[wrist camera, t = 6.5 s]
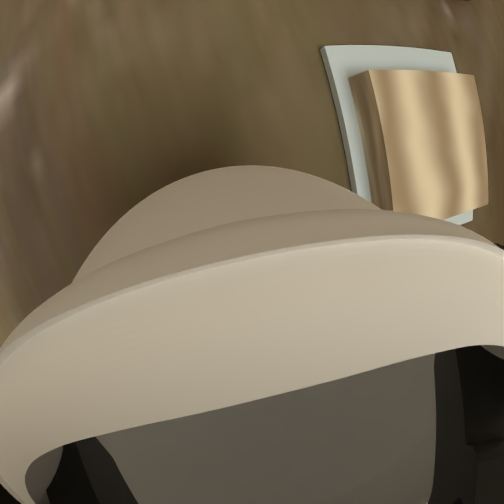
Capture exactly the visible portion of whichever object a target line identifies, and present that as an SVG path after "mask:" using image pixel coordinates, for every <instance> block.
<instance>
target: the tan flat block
mask: <svg viewBox="0 0 504 504" xmlns="http://www.w3.org/2000/svg"><path fill="white" fill-rule="evenodd" d="M348 81H349V85H350V89H351V93H352V97H353V101H354V105H355V110H356V114H357V119H358V123H359V128H360V133H361V138H362V144H363V149H364V155H365V160H366V167H367V173H368V180H369V187H370V194H371V202H372V204H374V205H376V206H377V207H379V208H380V209H382V210H388V211H397V212H405V213H411V214H417V215H422V216H428V217H432V218H437V219H441V220H444V219H447V218H450V217H453V216H456V215H459V214H462V213H464V212H467V211H470V210H473V209H476V208H478V207H481V206H484V205H487V204H488V174H487V157H486V146H485V137H484V128H483V121H482V115H481V109H480V103H479V98H478V93H477V88H476V83H475V79H474V75H466V74H458V73H449V72H438V71H423V70H367V71H364V72H362V73H359V74H356V75H354V76H351V77H349V78H348Z"/></svg>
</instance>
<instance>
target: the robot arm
mask: <svg viewBox="0 0 504 504" xmlns="http://www.w3.org/2000/svg"><path fill="white" fill-rule="evenodd" d="M493 244H495V243H493ZM495 245H496V246H498V247H499V248H501V249H503V250H504V246H502V245H500V244H495ZM434 378H435V396H436V448H435V465H434V477H433V487H432V492H431V496H430V499H429V501H428V504H504V360H503V359H501V358H499V357H497V356H495V355H494V354H492V353H490V352H489V351H487V350H486V349H485V348H483V347H482V346H481V345H474V346H466V347H461V348H456V349H451V350H447V351H442V352H438V353H435V359H434ZM46 491H47V495H48V499H49V502H50V504H138V502H137V500H136V499H135V497H134V496H133V494H132V492H131V490H130V489H129V487H128V485H127V483H126V482H125V480H124V478H123V476H122V474H121V473H120V471H119V469H118V467H117V465H116V463H115V461H114V459H113V457H112V456H111V455H110V454H109V452H108V451H107V450H106V449H105V448H104V446H103V445H102V444H101V443H100V442H99V440H98V439H97V438H96V437H91V438H87V439H83V440H79V441H75V442H72V443H69V444H66V445H63V451H62V456H61V459H60V463H59V465H58V468H57V471H56V473H55V475H54V477H53V479H52V481H51V483H50V484H49V486H48V488H47V489H46ZM0 504H21V503H20V502H19V501H18V500H17V499H15V498H14V497H13V496H12V495H11V494H10V493H9V492H8V491H7V490H6V489H5V488H4V487H3V486H2V485H1V484H0Z"/></svg>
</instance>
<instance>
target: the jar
mask: <svg viewBox="0 0 504 504" xmlns="http://www.w3.org/2000/svg"><path fill="white" fill-rule="evenodd" d="M474 345H481V346H482V347H483V348H485V349H486V350H487V351H489V352H490V353H492V354H494V355H495V356H497V357H499V358H501V359H503V360H504V250H503V249H501V248H499V247H498V246H496V245H495V244H493V243H492V242H490V241H489V240H487V239H486V238H484V237H482V236H481V235H479V234H477V233H475V232H473V231H471V230H469V229H467V228H464V227H462V226H460V225H457V224H454V223H451V222H448V221H444V220H441V219H437V218H432V217H428V216H422V215H417V214H411V213H405V212H397V211H388V210H382V209H380V208H379V207H377V206H376V205H374V204H372V203H371V202H369V201H368V200H366V199H364V198H363V197H361V196H359V195H357V194H355V193H354V192H352V191H350V190H348V189H346V188H344V187H342V186H339V185H337V184H335V183H333V182H330V181H328V180H325V179H322V178H320V177H317V176H314V175H310V174H307V173H303V172H300V171H295V170H291V169H286V168H279V167H272V166H258V165H244V166H230V167H223V168H217V169H212V170H207V171H204V172H200V173H197V174H193V175H190V176H188V177H185V178H182V179H180V180H178V181H175V182H173V183H171V184H169V185H167V186H165V187H163V188H161V189H159V190H158V191H156V192H154V193H153V194H151V195H149V196H148V197H146V198H145V199H144V200H142V201H141V202H139V203H138V204H137V205H135V206H134V207H133V208H132V209H130V210H129V211H128V212H127V213H126V214H125V215H123V216H122V217H121V218H120V219H119V220H118V221H117V222H116V223H115V224H114V225H113V226H112V227H111V228H110V229H109V230H108V232H107V233H106V234H105V235H104V236H103V237H102V238H101V240H100V241H99V242H98V243H97V245H96V246H95V247H94V249H93V250H92V251H91V253H90V254H89V256H88V257H87V259H86V260H85V262H84V263H83V265H82V266H81V268H80V269H79V271H78V273H77V275H76V276H75V278H74V280H73V282H72V284H70V285H68V286H67V287H65V288H64V289H62V290H61V291H59V292H58V293H56V294H55V295H53V296H52V297H51V298H49V299H48V300H46V301H45V302H44V303H43V304H41V305H40V306H39V307H37V308H36V309H35V310H34V311H33V312H31V313H30V314H29V315H28V316H27V317H26V318H25V319H24V320H23V321H22V322H21V323H20V324H19V325H18V326H17V327H16V328H15V329H14V330H13V331H12V333H11V334H10V335H9V336H8V338H7V339H6V340H5V342H4V343H3V345H2V346H1V348H0V484H1V485H2V486H3V487H4V488H5V489H6V490H7V491H8V492H9V493H10V494H11V495H12V496H13V497H14V498H15V499H17V500H18V501H19V502H20V503H21V504H50V502H49V499H48V495H47V491H46V489H47V488H48V486H49V484H50V483H51V481H52V479H53V477H54V475H55V473H56V471H57V468H58V465H59V463H60V459H61V456H62V451H63V445H66V444H69V443H72V442H75V441H79V440H83V439H87V438H91V437H96V438H97V439H98V440H99V442H100V443H101V444H102V445H103V446H104V448H105V449H106V450H107V451H108V452H109V454H110V455H111V456H112V457H113V459H114V461H115V463H116V465H117V467H118V469H119V471H120V473H121V474H122V476H123V478H124V480H125V482H126V483H127V485H128V487H129V489H130V490H131V492H132V494H133V496H134V497H135V499H136V500H137V502H138V504H426V503H427V502H428V501H429V499H430V496H431V492H432V487H433V477H434V465H435V448H436V396H435V378H434V359H435V353H438V352H442V351H447V350H451V349H456V348H461V347H466V346H474Z"/></svg>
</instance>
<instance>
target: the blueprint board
mask: <svg viewBox="0 0 504 504" xmlns="http://www.w3.org/2000/svg"><path fill="white" fill-rule="evenodd" d="M320 52H321V55H322V58H323V62H324V65H325V69H326V72H327V76H328V80H329V83H330V87H331V91H332V95H333V99H334V103H335V107H336V112H337V116H338V120H339V125H340V130H341V134H342V139H343V144H344V149H345V154H346V160H347V165H348V171H349V177H350V183H351V189H352V192H354V193H355V194H357V195H359V196H361V197H363V198H364V199H366V200H368V201H369V202H371V194H370V187H369V180H368V173H367V167H366V160H365V155H364V149H363V144H362V138H361V133H360V128H359V123H358V119H357V114H356V110H355V105H354V101H353V97H352V93H351V89H350V85H349V81H348V78H349V77H351V76H354V75H356V74H359V73H362V72H364V71H367V70H423V71H438V72H449V73H456V69H455V65H454V61H453V58H452V54H451V53H450V52H443V51H436V50H429V49H420V48H410V47H398V46H378V45H337V46H324V47H322V48H321V49H320ZM371 203H372V202H371ZM471 220H473V210H470V211H467V212H464V213H462V214H459V215H456V216H453V217H450V218H447V219H444V221H448V222H451V223H454V224H457V225H461V224H464V223H466V222H469V221H471Z"/></svg>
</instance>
